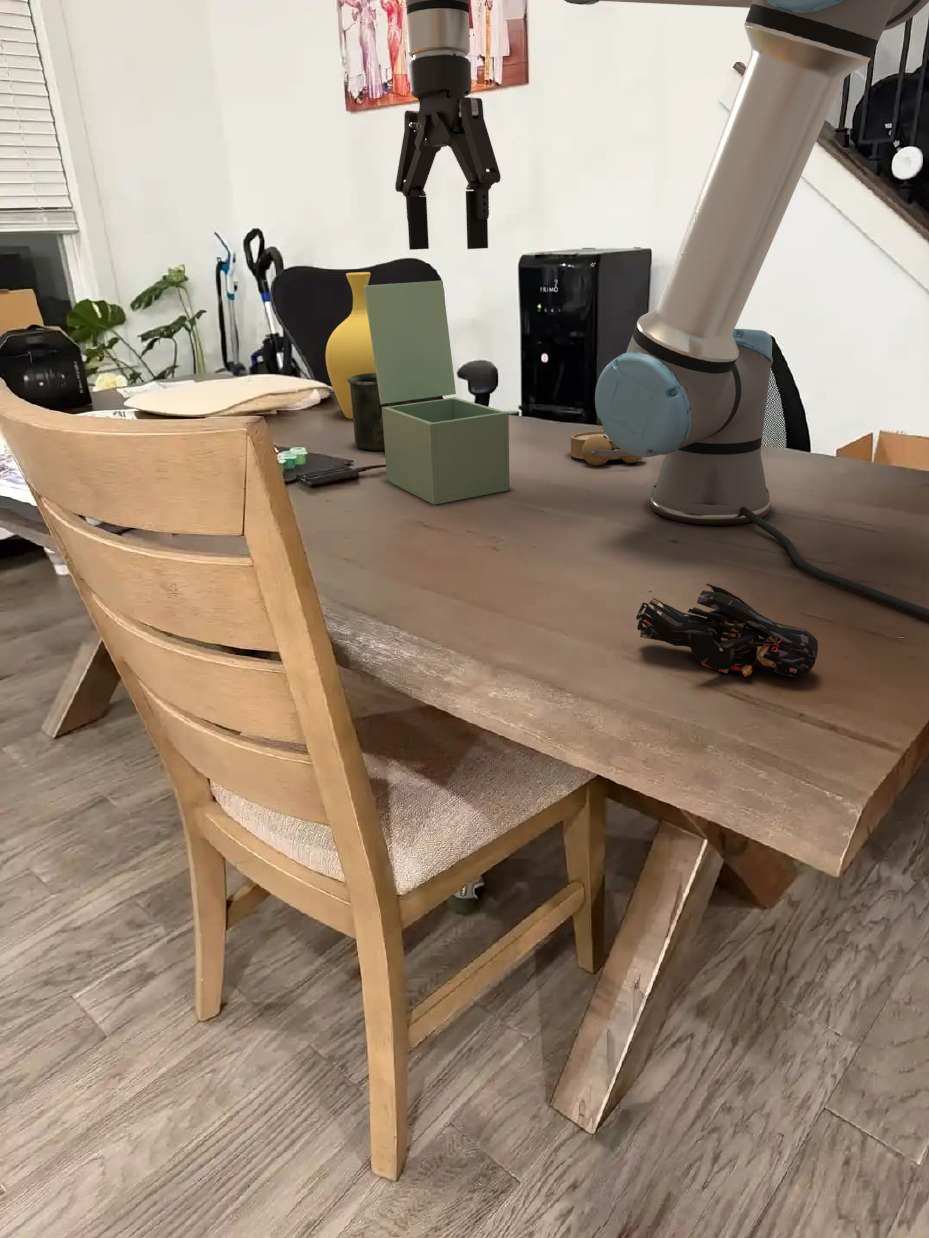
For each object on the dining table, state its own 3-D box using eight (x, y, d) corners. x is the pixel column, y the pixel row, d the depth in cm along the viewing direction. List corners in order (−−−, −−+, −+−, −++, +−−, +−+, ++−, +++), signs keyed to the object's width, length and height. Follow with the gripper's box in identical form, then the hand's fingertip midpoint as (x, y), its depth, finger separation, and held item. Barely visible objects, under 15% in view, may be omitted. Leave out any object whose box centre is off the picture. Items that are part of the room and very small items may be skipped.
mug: (408, 436, 159) (404, 370, 154) (419, 453, 146) (415, 383, 141) (350, 440, 157) (345, 374, 152) (357, 458, 144) (350, 387, 139)
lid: (442, 280, 127) (440, 281, 127) (365, 285, 121) (363, 286, 122) (456, 394, 131) (453, 394, 132) (382, 404, 126) (380, 404, 126)
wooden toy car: (626, 429, 145) (657, 431, 131) (626, 458, 146) (657, 463, 132) (562, 433, 144) (586, 436, 129) (563, 462, 145) (587, 468, 131)
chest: (509, 490, 124) (508, 412, 119) (434, 505, 118) (429, 424, 114) (457, 468, 136) (455, 397, 132) (387, 481, 131) (381, 407, 126)
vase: (373, 405, 190) (363, 270, 178) (422, 412, 179) (415, 270, 168) (315, 417, 179) (300, 275, 168) (364, 426, 169) (352, 275, 157)
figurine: (621, 643, 70) (811, 686, 65) (643, 557, 71) (832, 592, 66) (635, 661, 78) (805, 700, 73) (655, 583, 79) (824, 616, 74)
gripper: (529, 42, 95) (529, 247, 104) (410, 77, 114) (419, 248, 123) (475, 36, 91) (480, 249, 100) (362, 73, 110) (374, 250, 119)
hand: (447, 249), depth 111 cm, fingers open, 13 cm apart
